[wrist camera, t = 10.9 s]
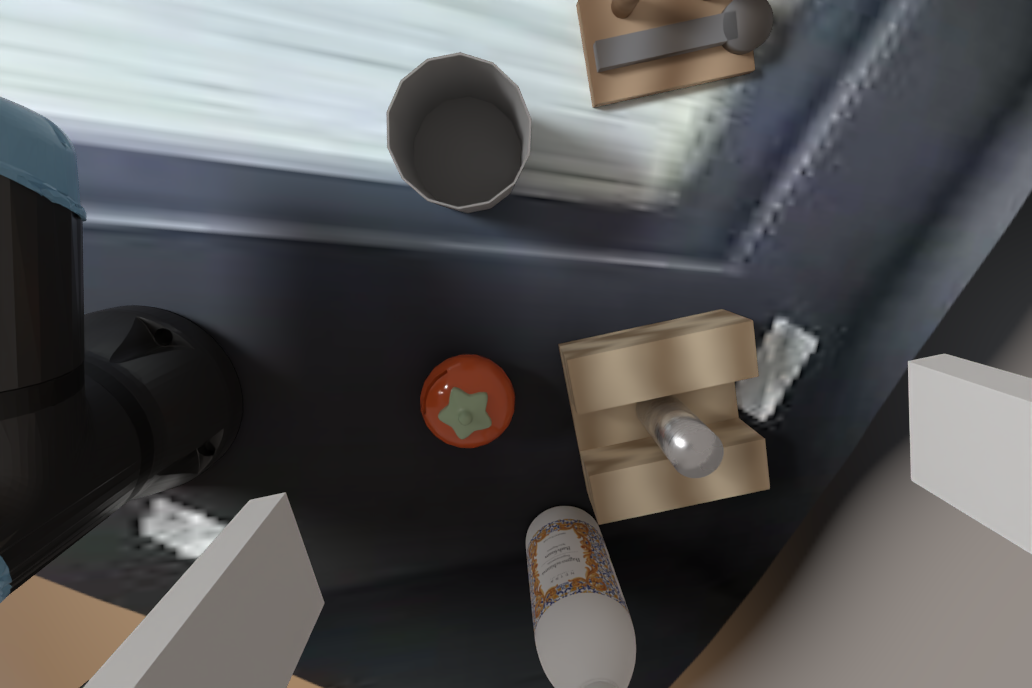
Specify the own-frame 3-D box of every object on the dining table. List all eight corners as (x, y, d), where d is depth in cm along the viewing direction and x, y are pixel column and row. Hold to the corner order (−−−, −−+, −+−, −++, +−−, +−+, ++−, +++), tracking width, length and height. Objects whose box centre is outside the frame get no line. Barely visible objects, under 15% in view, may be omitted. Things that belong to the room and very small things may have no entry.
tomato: (450, 328, 42) (440, 351, 34) (529, 368, 43) (537, 400, 35) (411, 403, 43) (393, 442, 36) (488, 440, 44) (487, 487, 37)
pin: (639, 431, 44) (675, 483, 35) (632, 392, 43) (668, 435, 34) (680, 422, 44) (726, 472, 35) (674, 383, 43) (720, 424, 34)
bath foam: (584, 491, 46) (651, 688, 26) (610, 553, 47) (691, 782, 28) (513, 519, 46) (527, 734, 27) (541, 580, 48) (574, 824, 28)
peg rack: (592, 107, 38) (610, 86, 33) (576, 5, 37) (591, -36, 31) (762, 70, 38) (810, 43, 33) (753, -34, 37) (802, -83, 31)
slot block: (587, 491, 46) (598, 525, 41) (558, 344, 43) (566, 360, 38) (739, 459, 46) (769, 488, 41) (722, 309, 42) (752, 320, 37)
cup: (535, 116, 39) (549, 79, 29) (507, 224, 40) (511, 224, 31) (426, 83, 38) (402, 34, 28) (402, 195, 39) (372, 185, 30)
